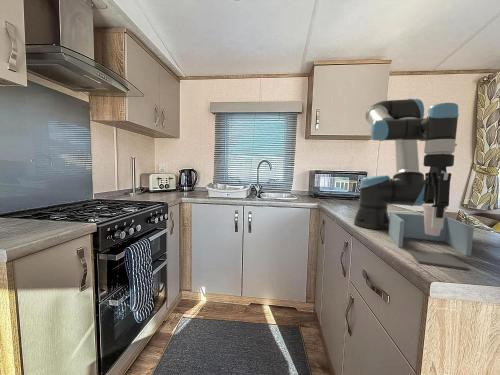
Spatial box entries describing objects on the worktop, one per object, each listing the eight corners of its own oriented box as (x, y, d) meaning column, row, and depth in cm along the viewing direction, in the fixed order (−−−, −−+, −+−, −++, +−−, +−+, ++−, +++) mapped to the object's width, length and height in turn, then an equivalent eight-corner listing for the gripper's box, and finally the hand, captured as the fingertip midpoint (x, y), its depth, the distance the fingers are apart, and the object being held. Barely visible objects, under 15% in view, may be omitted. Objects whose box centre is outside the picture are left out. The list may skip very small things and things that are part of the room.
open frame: (388, 234, 93) (390, 212, 93) (447, 240, 87) (449, 217, 86) (398, 247, 78) (400, 220, 77) (470, 256, 71) (473, 227, 70)
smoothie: (445, 234, 76) (449, 191, 75) (443, 238, 71) (447, 193, 70) (421, 230, 80) (425, 190, 79) (418, 233, 76) (421, 191, 75)
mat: (407, 250, 75) (407, 248, 75) (449, 255, 71) (450, 253, 71) (418, 263, 65) (418, 261, 65) (468, 270, 61) (468, 267, 61)
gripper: (469, 151, 64) (461, 234, 65) (441, 156, 82) (435, 221, 83) (436, 151, 66) (429, 231, 68) (415, 156, 84) (410, 218, 86)
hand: (432, 225), depth 76 cm, fingers closed on smoothie, 6 cm apart
